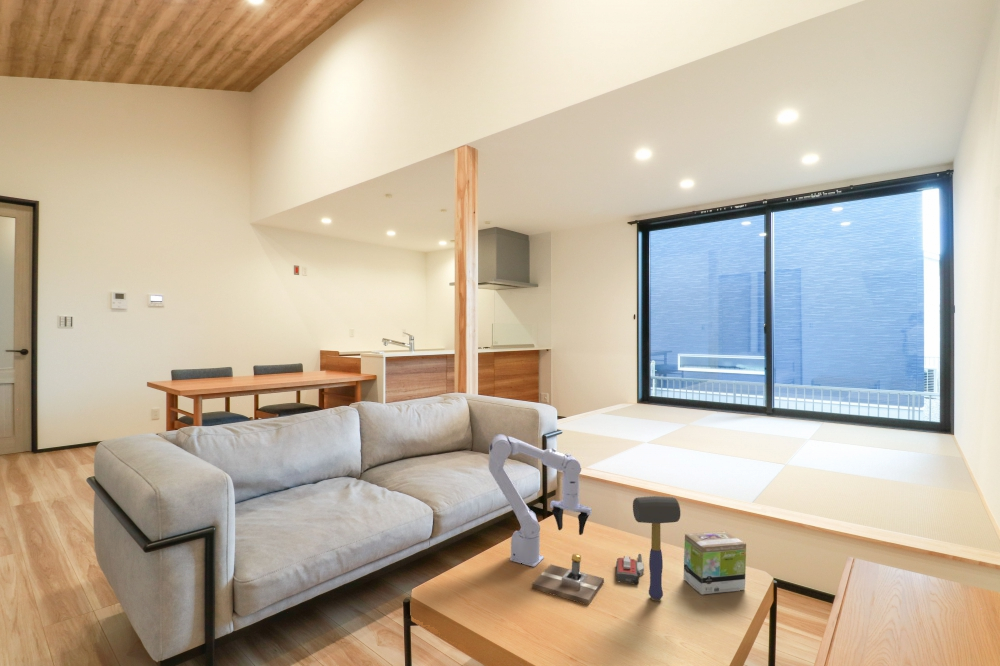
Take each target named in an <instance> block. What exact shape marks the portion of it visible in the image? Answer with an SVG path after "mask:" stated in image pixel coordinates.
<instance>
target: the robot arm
mask: <svg viewBox="0 0 1000 666" xmlns="http://www.w3.org/2000/svg"><path fill="white" fill-rule="evenodd" d="M520 453H521V454H524V455H525V456H526V455H527V456H529V457H532V458H535V459H537V460H538V459H539V460H541V464H542V465H544V466H546V467H549V468H551V469H554V470H556V471H560V472H562V487H561V488H562V497H561V498H562V499H561V500H551V501H550V505H549V507H550V508H551V509H552V510H551V513H552V514H553V516H554V519H555V522H556V525H557V530H558V531H561V530H562V529H563V526H564V524H563V521H564V520H563V516H564V510H565V511H570V512H573V513H575V512H576V513H579V514H578V515H577V518H578V535H580V536H583V534H584V530H585V526H586V523H587V520H588V518H589V516H591V515H592V514H593V511H592V510H593V508H592V507H589V506H586V505H583V504H580V473H581V472H582V467H581V464H580V462H579V461H578V460H577V459H576V457H574V456H573V455H572V454H568V453H565V454H564V453H562V452H559V451H558V450H557V449H556V448H554V447H552V448H546V449H541V448H539V447H537V446H534V445H532V444H530V443H527V442H525V441H524V440H520V439H518V438H515V437H513V436H509V435H508V436H506V434H502V433H501V434H499V433H498V434H496V435H494V436H493V438H492V440H491V441H490V443H489V447H488V465H487V466H488V470H489V473H490V474H491V476H492V477H493V479H494V481H495V482H496V484H497V485H498V487H499V489H500V490H501V492H502V494H503V495H504V498H505V499H506V501H507V502H508V504H509V506H510V507H511V509H512V511H513V513H514V514H515V516H516V519H517V520H518V522H519V525H520V529H519V530H515V531H514V532H513V534H512V536H511V538H510V539H511V540H510V558H509V561H510V562H515V563H518V564H521V563H522V565H525V566H530V567H533V568H535V567H537V565H538V564H539V563H540V562H541V561H543V560H544V558H545V556H544V555H540V553H541V552H540V551H541V549H540V547H541V544H540V542H541V541H540V538H541V537H540V536H541V535H540V534H541V533H540V531H541V525H540V523H539V521H538V519H537V515H536V513H535V512H534V511H533V510H531V509H530V507H528V505H527V504H526V502H525V501H524V499H523V498H522V496H521V494H520V493H519V491H518V488H516V485H515V484H514V483H513V480H512V479H511V478H510V476H509V474H508V473H507V471H506V469H505V466H504V465H505V462H506V460H508V457H510V455H512V456H515V455H517V454H520Z"/></svg>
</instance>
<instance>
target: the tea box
mask: <svg viewBox="0 0 1000 666" xmlns="http://www.w3.org/2000/svg"><path fill="white" fill-rule="evenodd" d="M683 548H684V552H683V553H684V554H683V580H684V581H685V582H686V583H688V585H689V586H691V587H692V588H693V589H694V590H696V591H697V592H698V594H700V595H702V596H703V595H708V594H710V595H711V594H719V593H729V592H730V593H732V592H741V591H740V590H744V591H745V590H746V569H747V568H746V566H747V565H746V562H747V560H746V559H747V544H746V543H745V542H744V541H742V540H741V539H739V538H738V537H736V536H735V535H733V534H731V533H729V532H728V531H727V530H723V531H708V532H697V533H695V532H694V533H684V547H683Z"/></svg>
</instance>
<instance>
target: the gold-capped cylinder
mask: <svg viewBox="0 0 1000 666" xmlns="http://www.w3.org/2000/svg"><path fill="white" fill-rule="evenodd" d="M581 562H582V555H581V554H577V553H572V554H571V570H572V572H571V579H574V580H578V581H579V572H580V569H581Z"/></svg>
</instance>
